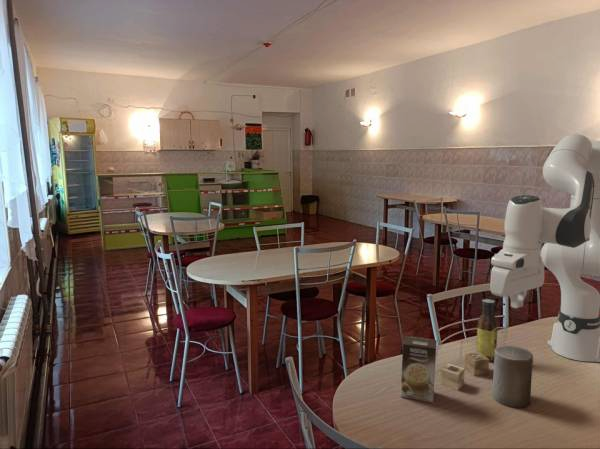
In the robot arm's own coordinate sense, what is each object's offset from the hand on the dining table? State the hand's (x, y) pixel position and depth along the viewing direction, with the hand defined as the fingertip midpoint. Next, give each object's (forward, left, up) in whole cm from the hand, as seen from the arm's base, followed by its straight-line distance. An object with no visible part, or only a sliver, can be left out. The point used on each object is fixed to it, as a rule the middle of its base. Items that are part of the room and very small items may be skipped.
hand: (516, 306), depth 118 cm
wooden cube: (-6, -15, -27) cm, 31 cm away
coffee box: (+20, -16, -27) cm, 37 cm away
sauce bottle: (-17, -19, -27) cm, 37 cm away
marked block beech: (+7, -14, -27) cm, 31 cm away
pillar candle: (0, 0, -27) cm, 27 cm away
